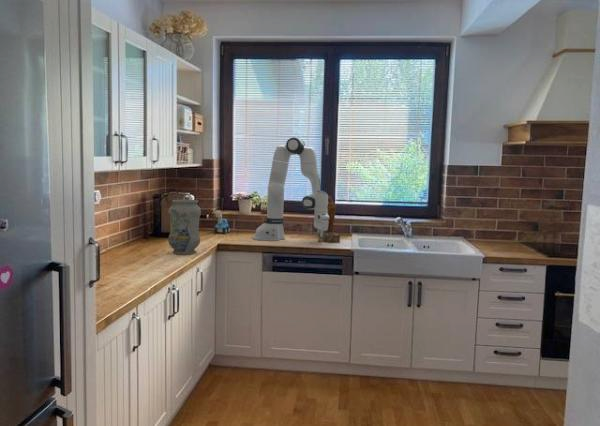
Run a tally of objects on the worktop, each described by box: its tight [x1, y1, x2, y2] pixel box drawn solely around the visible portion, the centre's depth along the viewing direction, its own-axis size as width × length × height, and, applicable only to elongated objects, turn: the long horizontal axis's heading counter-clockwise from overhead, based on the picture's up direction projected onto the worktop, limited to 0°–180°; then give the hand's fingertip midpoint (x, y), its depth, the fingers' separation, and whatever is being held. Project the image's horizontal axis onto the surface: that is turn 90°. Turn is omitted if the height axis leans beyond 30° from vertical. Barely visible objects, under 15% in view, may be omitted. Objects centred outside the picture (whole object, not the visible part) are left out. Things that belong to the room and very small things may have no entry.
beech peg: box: [317, 229, 323, 243], centre depth 333 cm, size 3×3×10 cm
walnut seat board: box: [322, 232, 341, 243], centre depth 337 cm, size 9×10×5 cm
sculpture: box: [322, 195, 338, 238], centre depth 355 cm, size 13×9×30 cm
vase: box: [167, 199, 202, 256], centre depth 279 cm, size 18×18×30 cm
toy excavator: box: [214, 209, 231, 234], centre depth 356 cm, size 9×17×17 cm, turn 167°
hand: (320, 235), depth 333 cm, fingers closed on beech peg, 3 cm apart
